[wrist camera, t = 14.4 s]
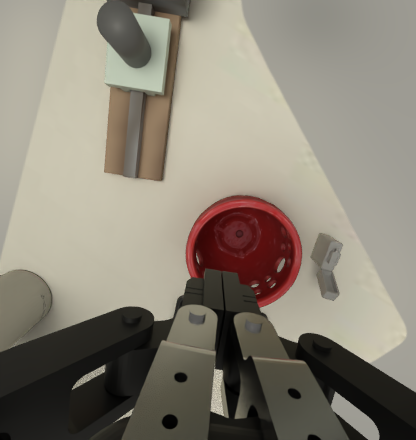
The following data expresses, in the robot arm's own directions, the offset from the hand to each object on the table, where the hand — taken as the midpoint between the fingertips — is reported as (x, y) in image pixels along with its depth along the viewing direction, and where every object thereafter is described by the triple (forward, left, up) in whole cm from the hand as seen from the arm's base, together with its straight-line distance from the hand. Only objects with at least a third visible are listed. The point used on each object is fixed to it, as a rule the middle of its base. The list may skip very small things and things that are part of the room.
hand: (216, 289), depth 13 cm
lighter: (+17, -6, -29) cm, 34 cm away
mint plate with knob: (-12, +17, -27) cm, 34 cm away
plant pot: (+4, -4, -29) cm, 30 cm away
